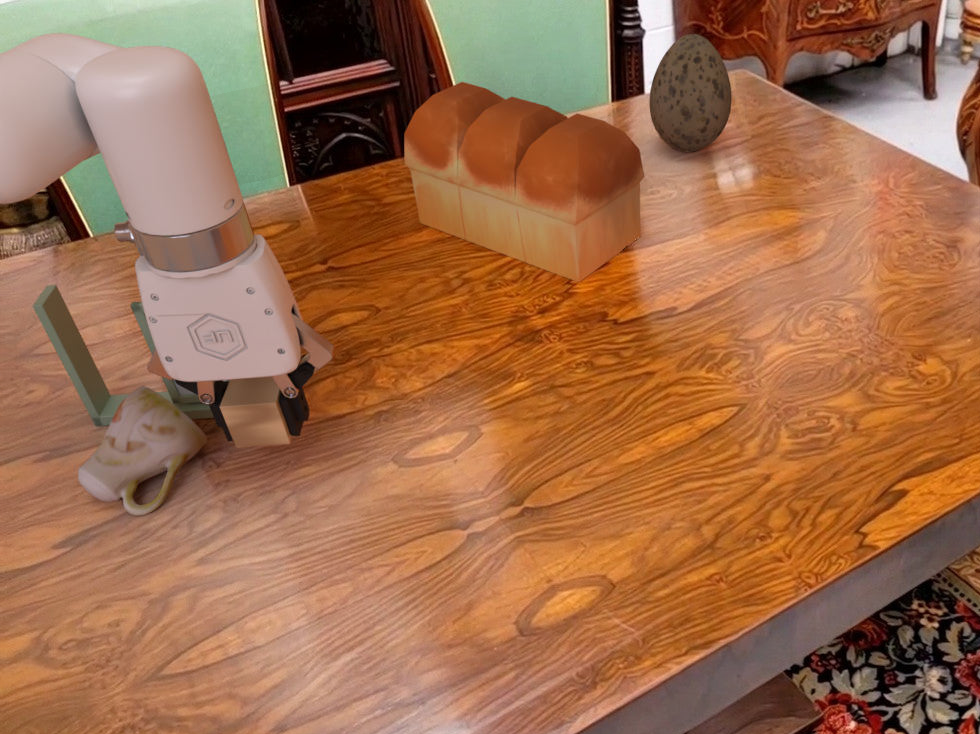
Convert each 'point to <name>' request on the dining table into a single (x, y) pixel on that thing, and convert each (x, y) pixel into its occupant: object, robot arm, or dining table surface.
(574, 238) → the bread
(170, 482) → the mug
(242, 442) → the block
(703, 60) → the decorative egg
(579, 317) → the dining table surface
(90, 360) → the window frame
